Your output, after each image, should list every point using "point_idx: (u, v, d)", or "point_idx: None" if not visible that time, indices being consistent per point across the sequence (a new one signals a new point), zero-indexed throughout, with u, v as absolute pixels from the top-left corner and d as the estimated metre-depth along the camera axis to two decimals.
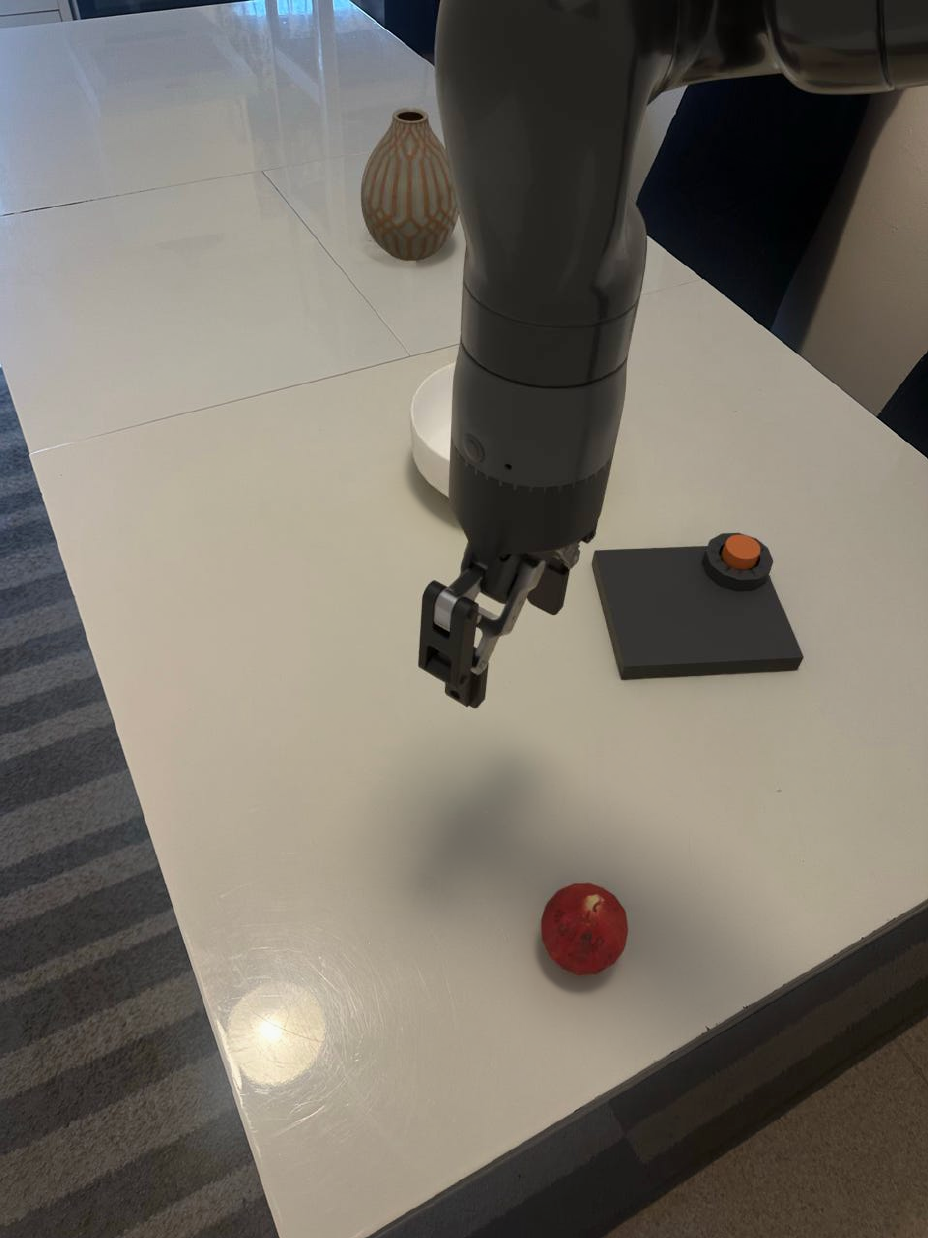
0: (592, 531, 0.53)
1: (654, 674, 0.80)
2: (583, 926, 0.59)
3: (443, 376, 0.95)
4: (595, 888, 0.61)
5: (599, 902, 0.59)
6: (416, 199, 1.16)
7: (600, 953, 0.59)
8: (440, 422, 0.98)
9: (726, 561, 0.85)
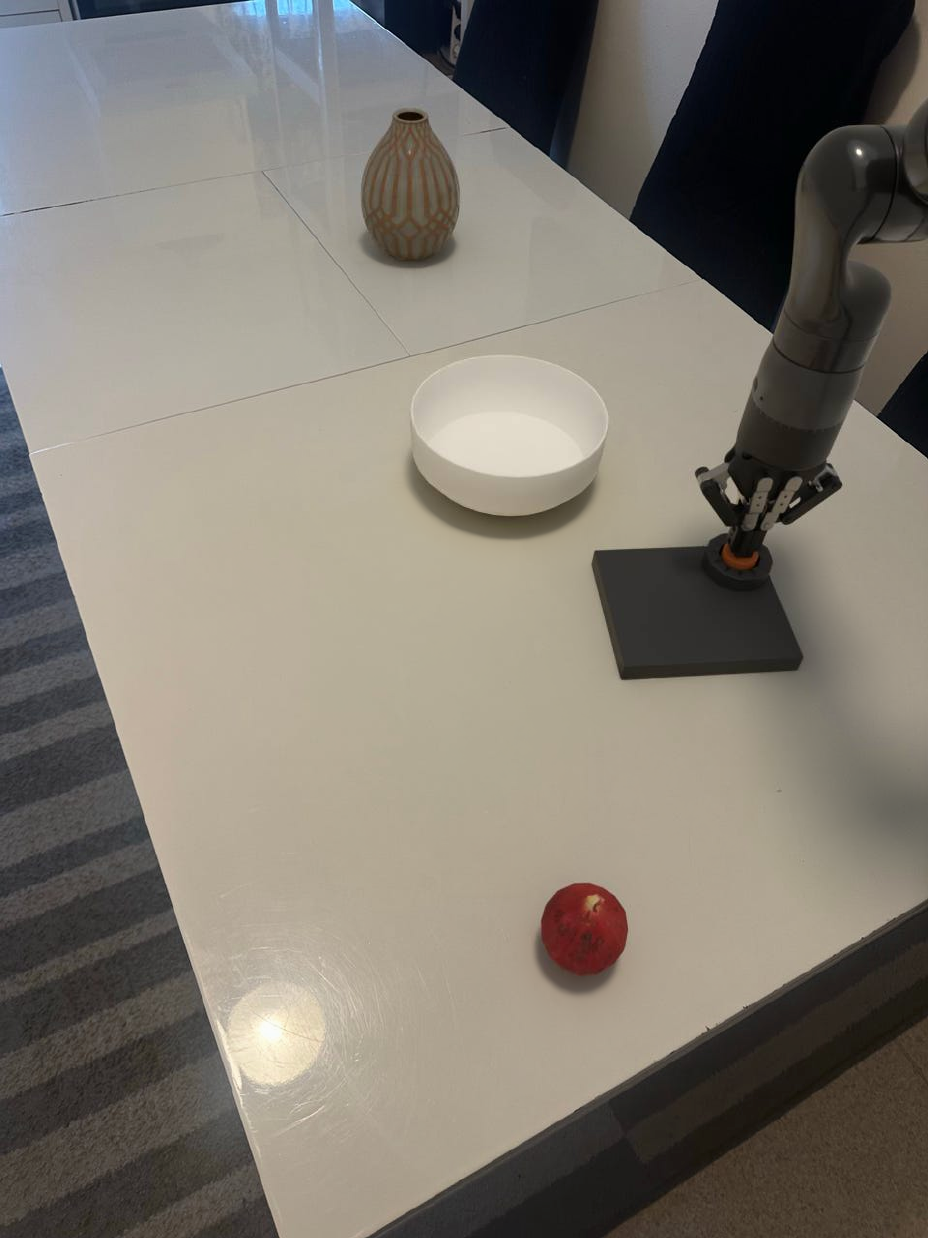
0: (791, 518, 0.81)
1: (654, 674, 0.80)
2: (583, 926, 0.59)
3: (443, 376, 0.95)
4: (595, 888, 0.61)
5: (599, 902, 0.59)
6: (416, 199, 1.16)
7: (600, 953, 0.59)
8: (440, 422, 0.98)
9: None
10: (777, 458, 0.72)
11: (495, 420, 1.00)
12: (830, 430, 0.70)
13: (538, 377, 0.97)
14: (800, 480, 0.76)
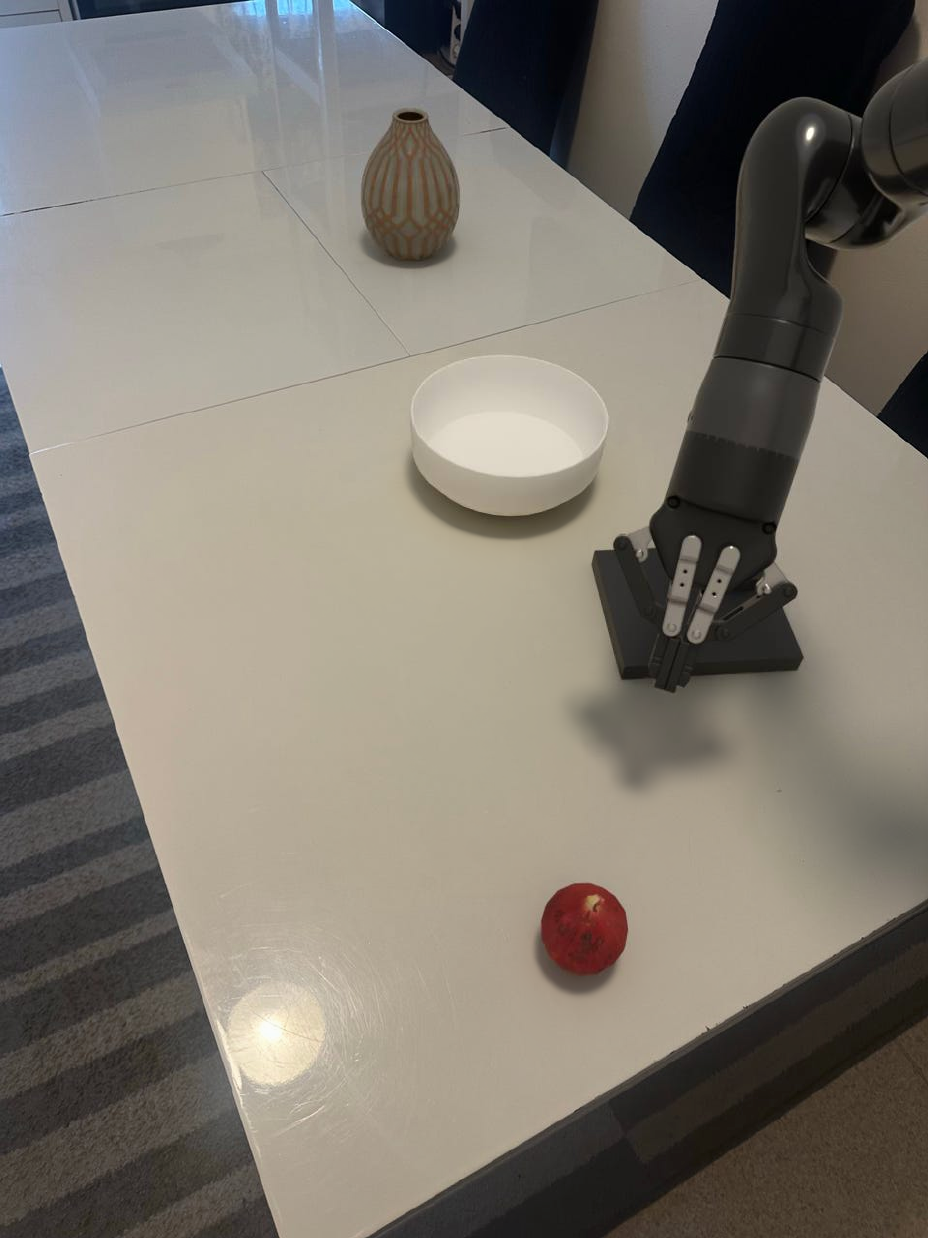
0: (728, 631, 0.61)
1: None
2: (583, 926, 0.59)
3: (443, 376, 0.95)
4: (595, 888, 0.61)
5: (599, 902, 0.59)
6: (416, 199, 1.16)
7: (600, 953, 0.59)
8: (440, 422, 0.98)
9: None
10: (702, 486, 0.58)
11: (495, 420, 1.00)
12: (768, 455, 0.56)
13: (538, 377, 0.97)
14: (737, 554, 0.59)
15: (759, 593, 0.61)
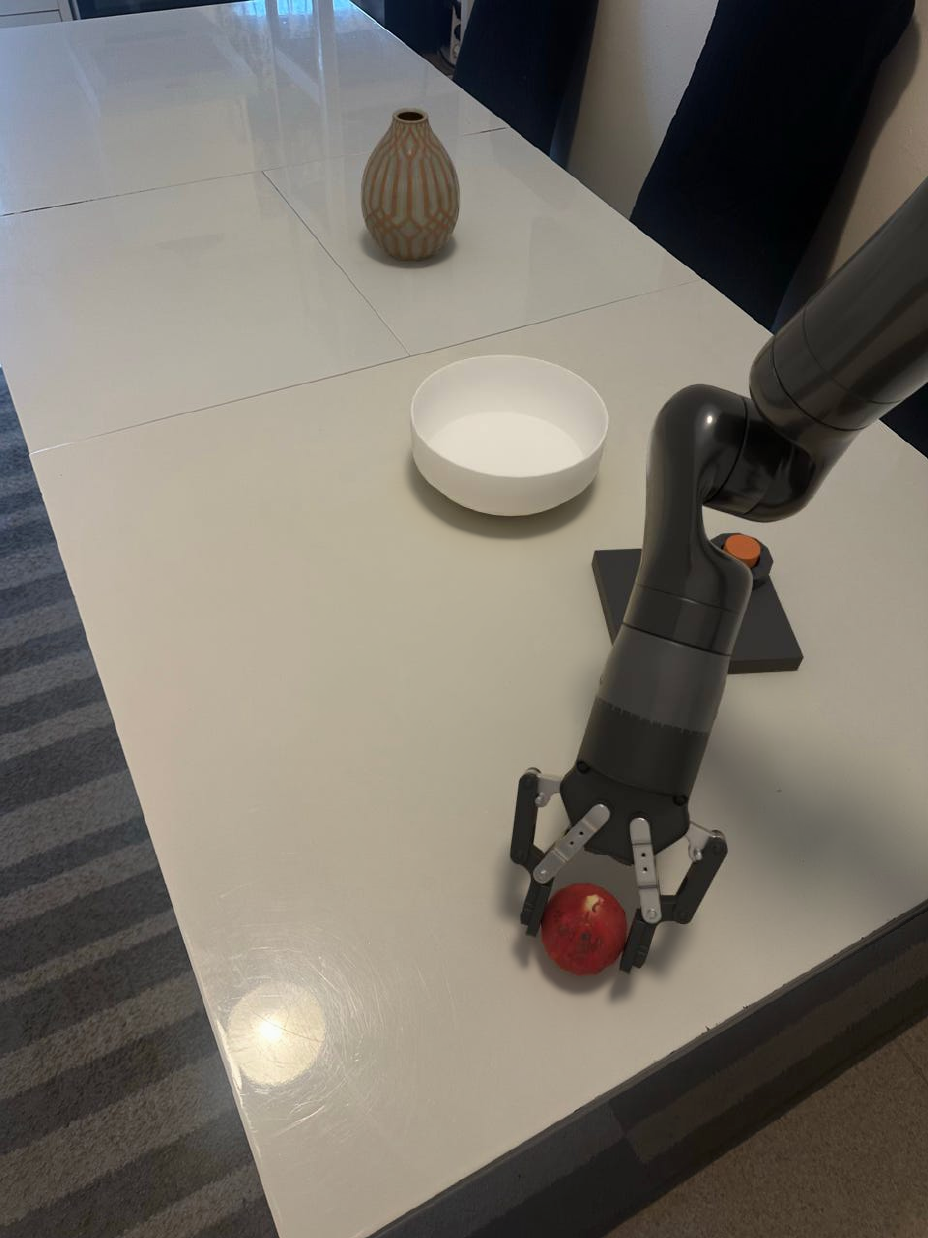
0: (684, 911, 0.57)
1: None
2: (582, 926, 0.59)
3: (443, 376, 0.95)
4: (594, 888, 0.61)
5: (598, 902, 0.58)
6: (416, 199, 1.16)
7: (599, 953, 0.59)
8: (440, 422, 0.98)
9: None
10: (607, 758, 0.56)
11: (495, 420, 1.00)
12: (673, 732, 0.55)
13: (538, 377, 0.97)
14: (645, 823, 0.57)
15: (694, 860, 0.58)
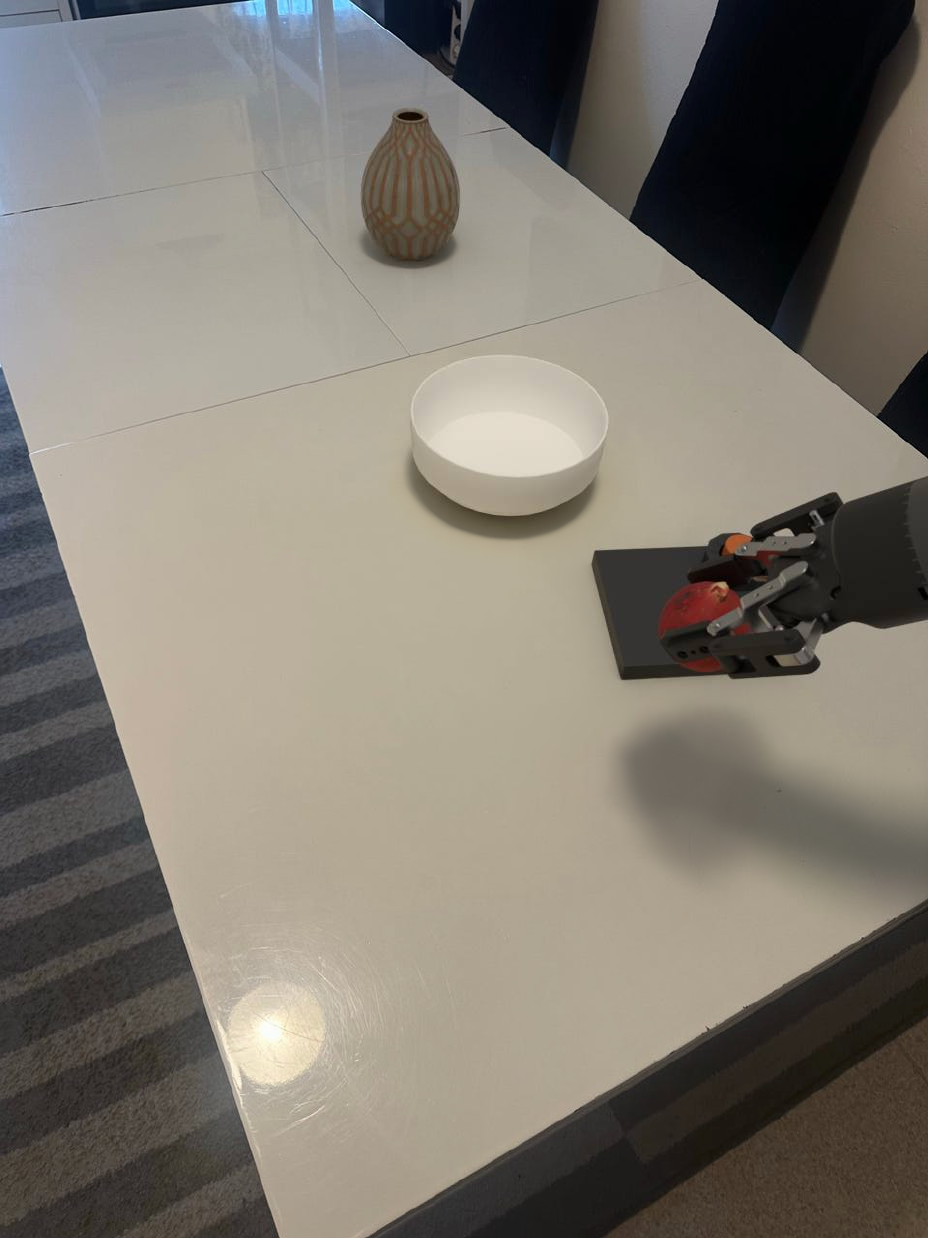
0: (721, 643, 0.53)
1: (654, 674, 0.80)
2: (696, 588, 0.59)
3: (443, 376, 0.95)
4: None
5: (720, 589, 0.58)
6: (416, 199, 1.16)
7: (675, 616, 0.59)
8: (440, 422, 0.98)
9: None
10: None
11: (495, 420, 1.00)
12: (901, 515, 0.47)
13: (538, 377, 0.97)
14: (802, 569, 0.52)
15: None
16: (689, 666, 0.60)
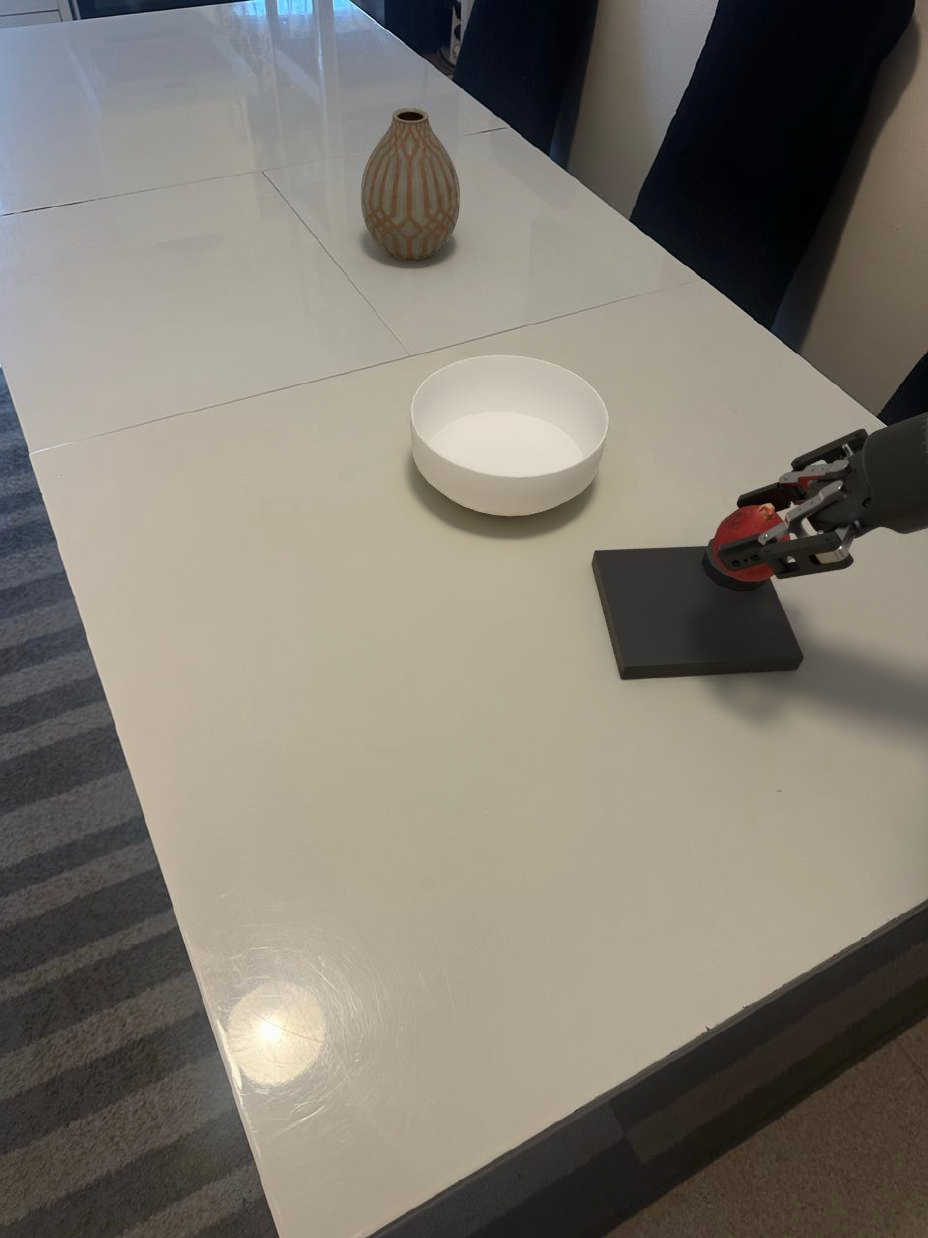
0: (770, 548, 0.65)
1: (654, 674, 0.80)
2: (746, 510, 0.71)
3: (443, 376, 0.95)
4: None
5: (767, 509, 0.69)
6: (416, 199, 1.16)
7: (728, 533, 0.71)
8: (440, 422, 0.98)
9: None
10: (885, 427, 0.63)
11: (495, 420, 1.00)
12: (920, 436, 0.59)
13: (538, 377, 0.97)
14: (838, 486, 0.64)
15: None
16: (739, 576, 0.72)
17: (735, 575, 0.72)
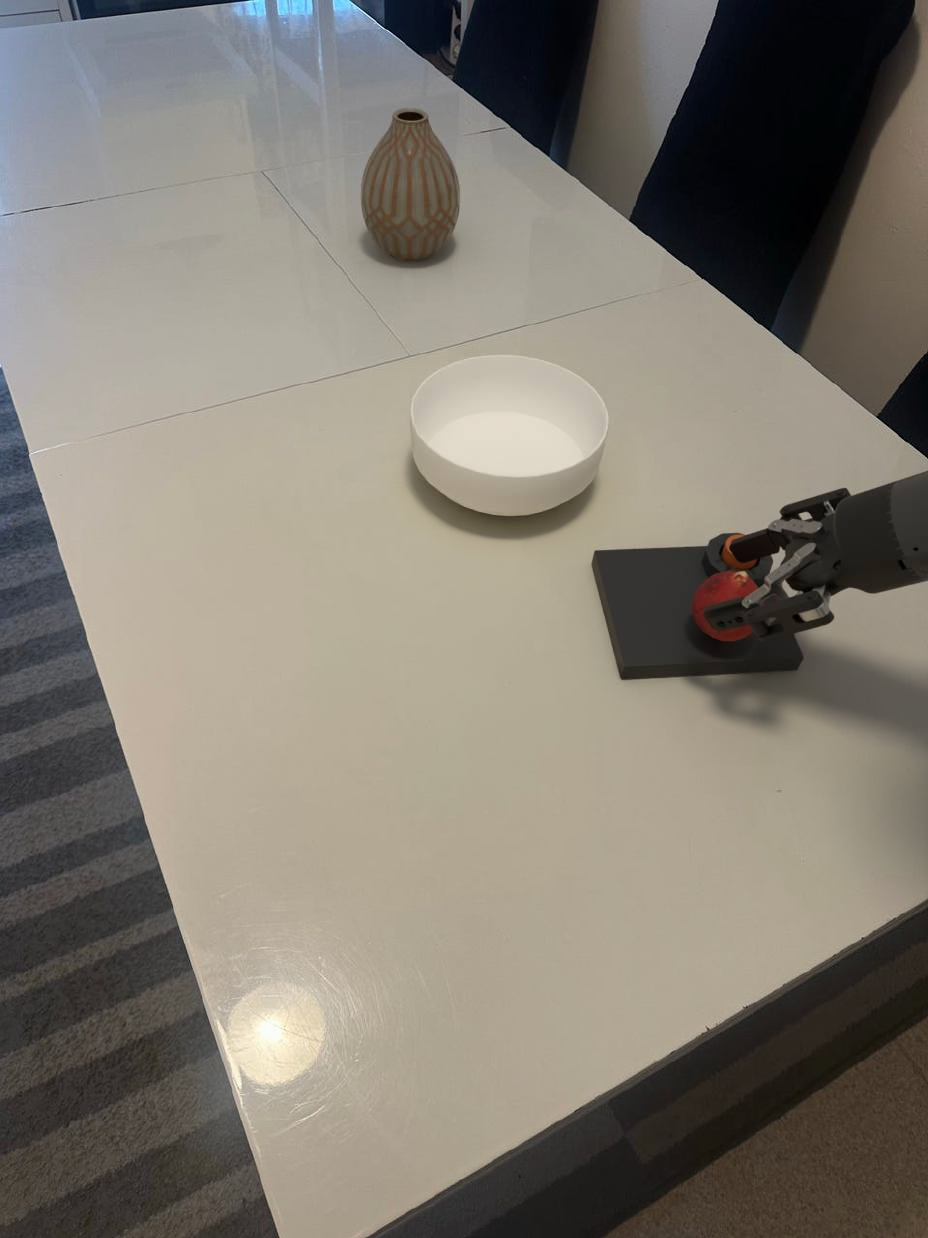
0: (753, 612, 0.69)
1: (654, 674, 0.80)
2: (723, 576, 0.77)
3: (443, 376, 0.95)
4: None
5: (741, 576, 0.75)
6: (416, 199, 1.16)
7: (706, 597, 0.77)
8: (440, 422, 0.98)
9: (726, 561, 0.85)
10: (855, 494, 0.68)
11: (495, 420, 1.00)
12: (885, 507, 0.64)
13: (538, 377, 0.97)
14: (812, 547, 0.69)
15: None
16: (716, 636, 0.78)
17: (712, 635, 0.78)
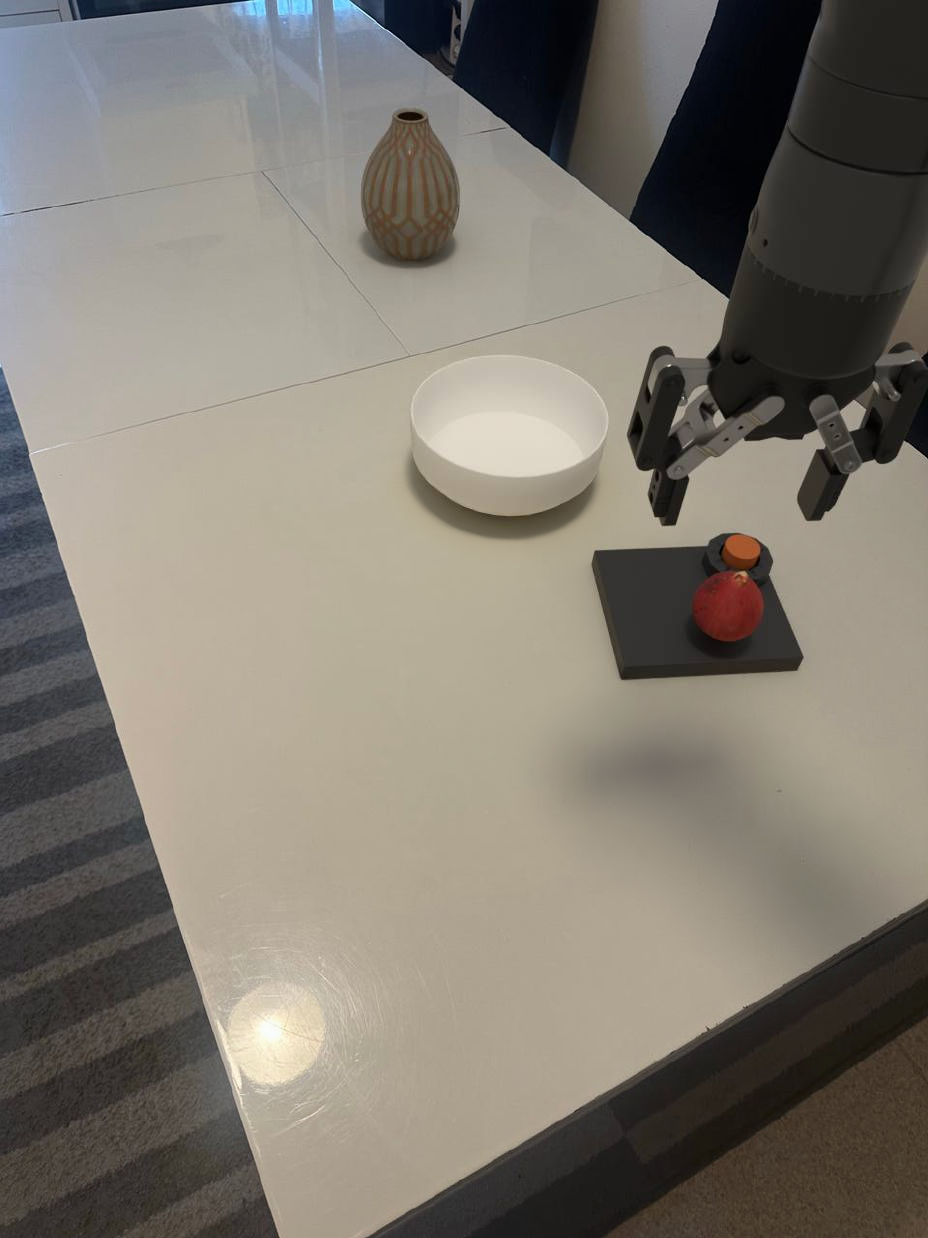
0: (888, 451, 0.49)
1: (654, 674, 0.80)
2: (723, 576, 0.77)
3: (443, 376, 0.95)
4: (756, 593, 0.76)
5: (741, 577, 0.75)
6: (416, 199, 1.16)
7: (706, 597, 0.77)
8: (440, 422, 0.98)
9: (726, 561, 0.85)
10: (793, 355, 0.41)
11: (495, 420, 1.00)
12: (890, 299, 0.39)
13: (538, 377, 0.97)
14: (828, 398, 0.45)
15: (886, 397, 0.47)
16: (716, 636, 0.78)
17: (712, 635, 0.78)
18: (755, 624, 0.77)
